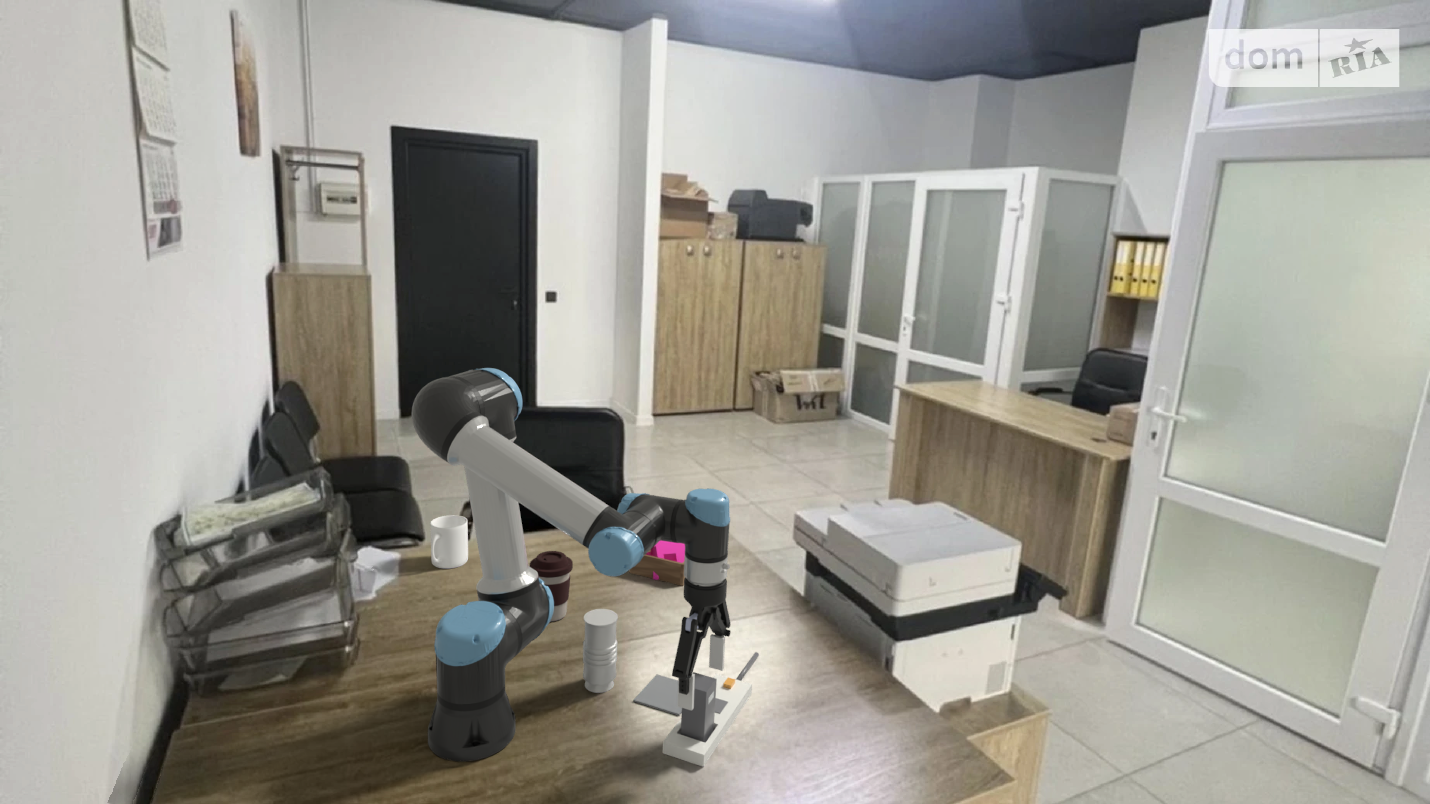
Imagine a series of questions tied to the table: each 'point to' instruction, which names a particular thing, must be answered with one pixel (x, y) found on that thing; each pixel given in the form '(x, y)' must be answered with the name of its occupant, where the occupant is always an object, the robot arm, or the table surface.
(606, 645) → the grey ribbed canister
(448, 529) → the mug
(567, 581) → the coffee cup
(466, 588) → the table surface
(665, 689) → the mat
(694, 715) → the block
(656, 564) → the display box
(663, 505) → the robot arm
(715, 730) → the power strip
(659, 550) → the bracket
